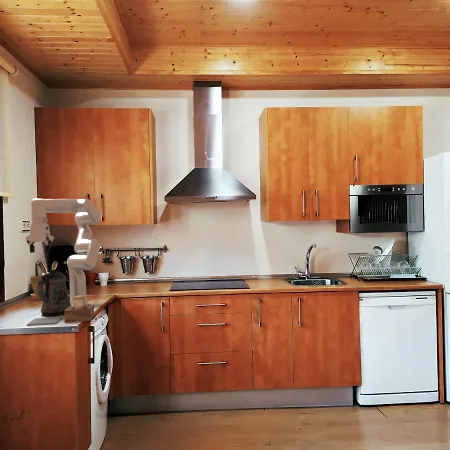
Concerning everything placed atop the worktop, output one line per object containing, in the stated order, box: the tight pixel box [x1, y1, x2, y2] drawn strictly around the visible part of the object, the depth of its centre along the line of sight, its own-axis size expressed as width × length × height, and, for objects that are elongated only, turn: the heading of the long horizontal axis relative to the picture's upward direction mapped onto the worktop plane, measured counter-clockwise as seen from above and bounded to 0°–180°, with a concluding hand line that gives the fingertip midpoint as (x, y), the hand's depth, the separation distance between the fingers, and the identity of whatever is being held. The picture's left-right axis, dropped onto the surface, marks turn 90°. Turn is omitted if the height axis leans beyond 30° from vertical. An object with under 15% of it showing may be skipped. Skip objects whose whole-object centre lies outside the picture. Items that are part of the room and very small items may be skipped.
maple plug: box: [74, 296, 85, 309], centre depth 235 cm, size 5×5×12 cm
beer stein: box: [37, 269, 72, 318], centre depth 250 cm, size 16×19×25 cm
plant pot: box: [30, 274, 45, 301], centre depth 303 cm, size 15×15×16 cm
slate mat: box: [26, 316, 63, 327], centre depth 231 cm, size 14×14×1 cm
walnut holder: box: [63, 304, 95, 323], centre depth 235 cm, size 13×13×6 cm
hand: (39, 252), depth 244 cm, fingers open, 9 cm apart
